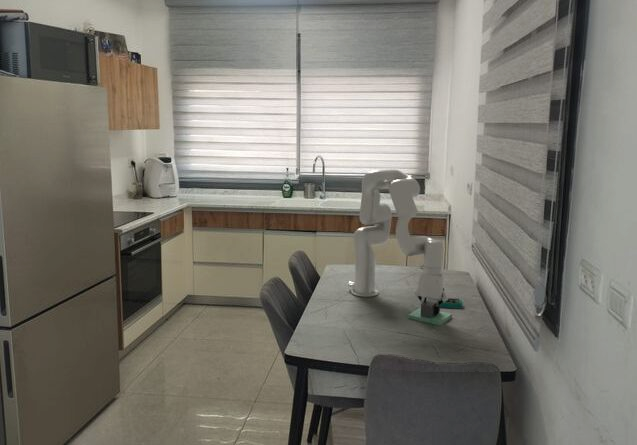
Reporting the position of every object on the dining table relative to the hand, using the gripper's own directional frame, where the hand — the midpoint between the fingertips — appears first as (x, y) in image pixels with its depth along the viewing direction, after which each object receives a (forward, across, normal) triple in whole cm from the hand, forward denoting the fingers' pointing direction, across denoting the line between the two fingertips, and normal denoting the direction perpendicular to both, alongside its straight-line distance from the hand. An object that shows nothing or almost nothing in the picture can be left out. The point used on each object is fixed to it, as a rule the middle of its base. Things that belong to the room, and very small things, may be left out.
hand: (430, 312), depth 224 cm
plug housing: (0, 0, 0) cm, 0 cm away
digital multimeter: (+3, -2, +19) cm, 20 cm away
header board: (+2, 0, 0) cm, 2 cm away
